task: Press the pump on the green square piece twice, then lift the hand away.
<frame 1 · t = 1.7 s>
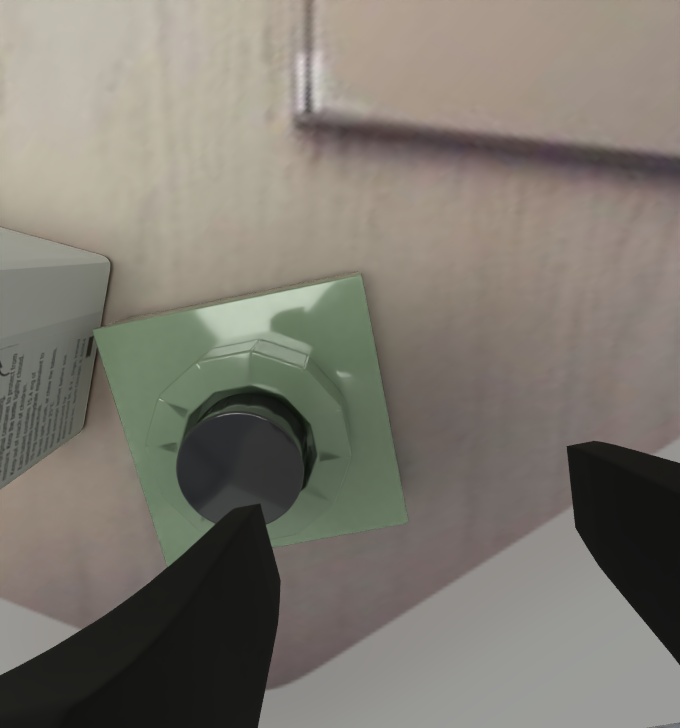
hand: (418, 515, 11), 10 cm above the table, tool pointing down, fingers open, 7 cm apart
green square piece: (266, 410, 22), on the table
container: (9, 323, 21), on the table
pump: (245, 459, 17), point 5 cm above the table, slide at 0.1 cm
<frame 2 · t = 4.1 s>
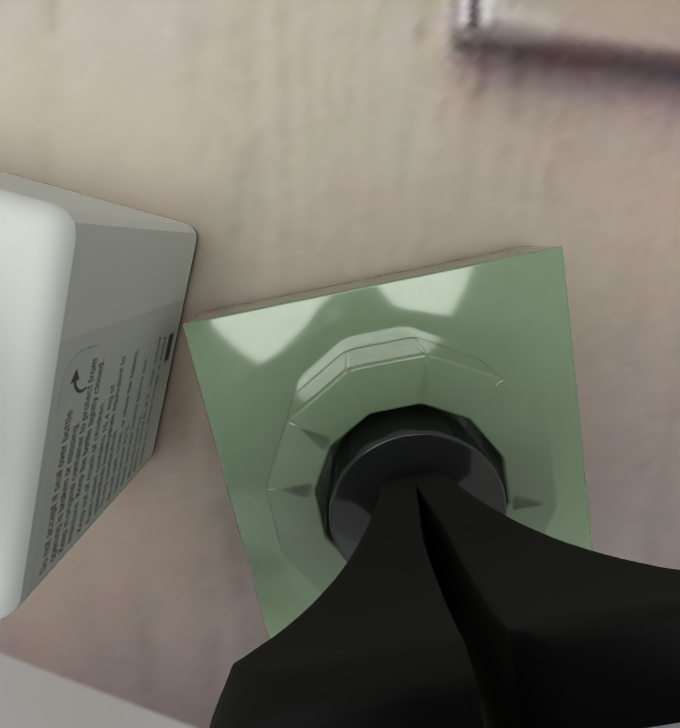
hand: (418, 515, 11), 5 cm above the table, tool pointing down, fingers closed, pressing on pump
green square piece: (392, 430, 17), on the table
container: (58, 316, 16), on the table
pump: (411, 494, 12), point 4 cm above the table, slide at -0.7 cm, touching gripper
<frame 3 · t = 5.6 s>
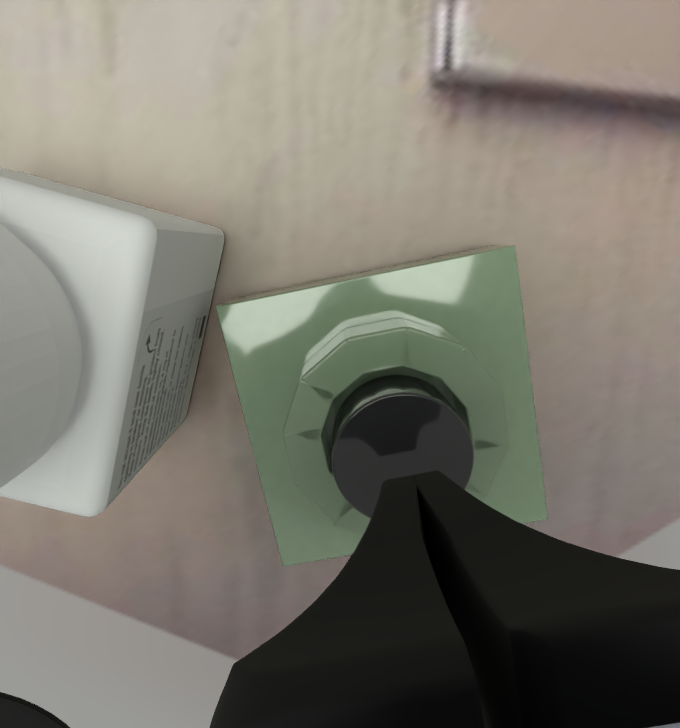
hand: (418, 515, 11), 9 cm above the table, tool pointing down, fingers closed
green square piece: (384, 397, 20), on the table
container: (109, 303, 19), on the table
pump: (398, 447, 15), point 5 cm above the table, slide at 0.1 cm
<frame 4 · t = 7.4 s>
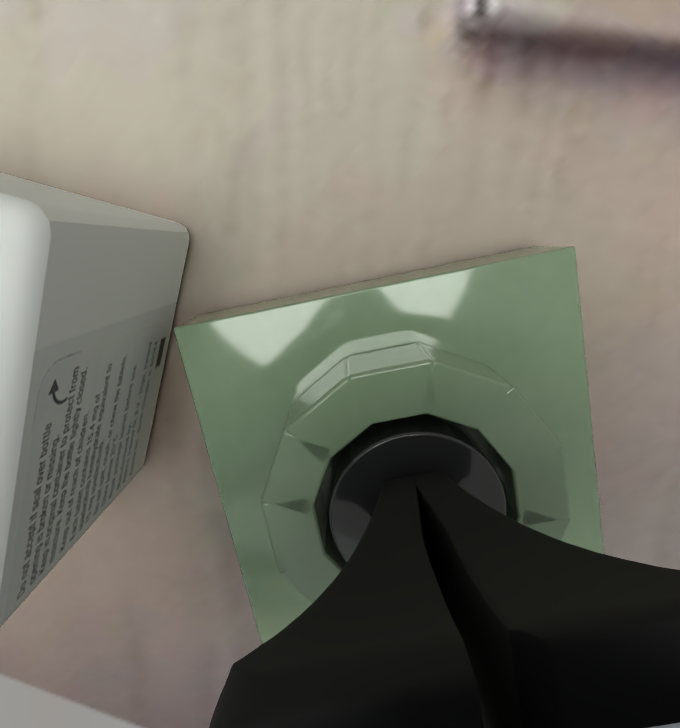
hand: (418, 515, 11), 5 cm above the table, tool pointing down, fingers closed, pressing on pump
green square piece: (395, 438, 16), on the table
container: (45, 320, 15), on the table
pump: (411, 494, 12), point 4 cm above the table, slide at -1.4 cm, touching gripper
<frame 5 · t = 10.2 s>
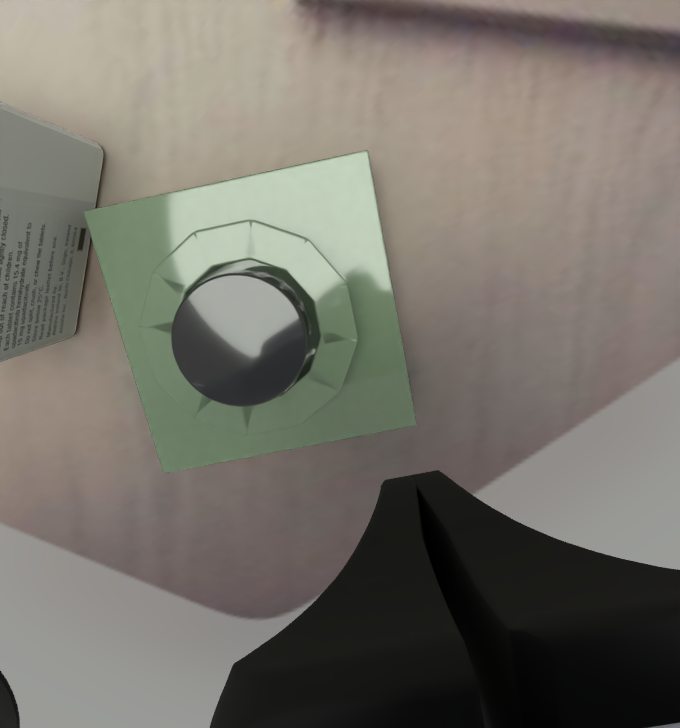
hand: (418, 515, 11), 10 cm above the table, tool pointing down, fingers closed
green square piece: (267, 314, 21), on the table
pump: (245, 336, 16), point 5 cm above the table, slide at 0.1 cm
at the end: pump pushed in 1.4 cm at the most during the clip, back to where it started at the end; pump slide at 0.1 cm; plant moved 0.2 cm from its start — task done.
